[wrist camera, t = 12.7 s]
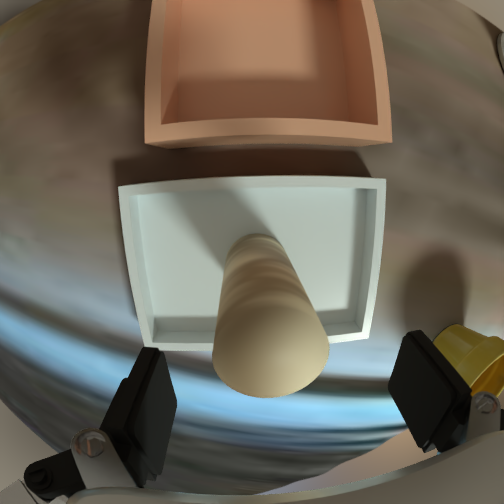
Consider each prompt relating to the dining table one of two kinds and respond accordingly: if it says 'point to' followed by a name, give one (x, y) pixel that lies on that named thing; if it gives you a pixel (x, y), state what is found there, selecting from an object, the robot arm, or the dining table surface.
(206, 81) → the peach square hollow box
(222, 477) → the dining table surface
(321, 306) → the grey tray
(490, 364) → the plant pot
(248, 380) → the maple peg
